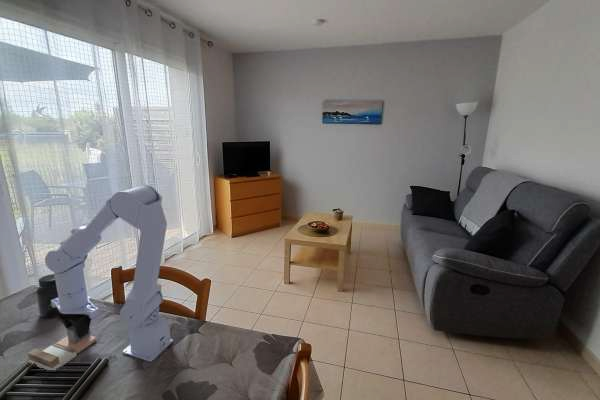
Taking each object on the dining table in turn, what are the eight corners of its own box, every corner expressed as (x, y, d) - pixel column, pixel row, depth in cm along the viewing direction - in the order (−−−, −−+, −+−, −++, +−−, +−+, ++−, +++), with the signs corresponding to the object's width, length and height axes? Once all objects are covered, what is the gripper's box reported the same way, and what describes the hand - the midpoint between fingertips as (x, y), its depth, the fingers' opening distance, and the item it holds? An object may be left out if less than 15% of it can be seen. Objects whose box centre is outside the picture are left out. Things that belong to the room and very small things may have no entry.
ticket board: (76, 355, 71) (75, 345, 70) (52, 372, 66) (50, 361, 65) (54, 347, 73) (52, 338, 72) (29, 363, 68) (27, 353, 67)
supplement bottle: (55, 319, 83) (49, 284, 81) (33, 318, 83) (26, 282, 81) (74, 306, 90) (69, 272, 87) (53, 304, 90) (47, 271, 87)
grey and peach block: (97, 339, 76) (95, 323, 75) (77, 353, 71) (74, 337, 70) (77, 332, 78) (75, 317, 77) (56, 346, 73) (53, 330, 72)
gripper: (107, 287, 73) (113, 330, 77) (68, 277, 77) (75, 319, 80) (80, 301, 67) (87, 348, 70) (38, 289, 71) (47, 335, 74)
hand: (79, 334), depth 75 cm, fingers open, 3 cm apart
